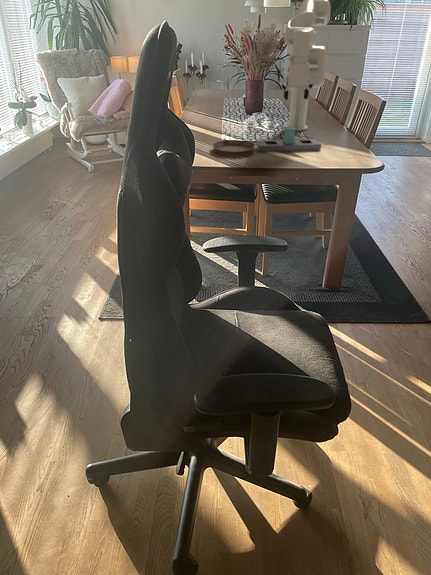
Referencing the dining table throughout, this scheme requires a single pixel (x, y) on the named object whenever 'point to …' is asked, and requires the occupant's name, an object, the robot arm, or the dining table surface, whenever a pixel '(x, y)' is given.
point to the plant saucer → (233, 147)
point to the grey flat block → (288, 145)
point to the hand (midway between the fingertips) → (295, 99)
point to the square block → (289, 135)
